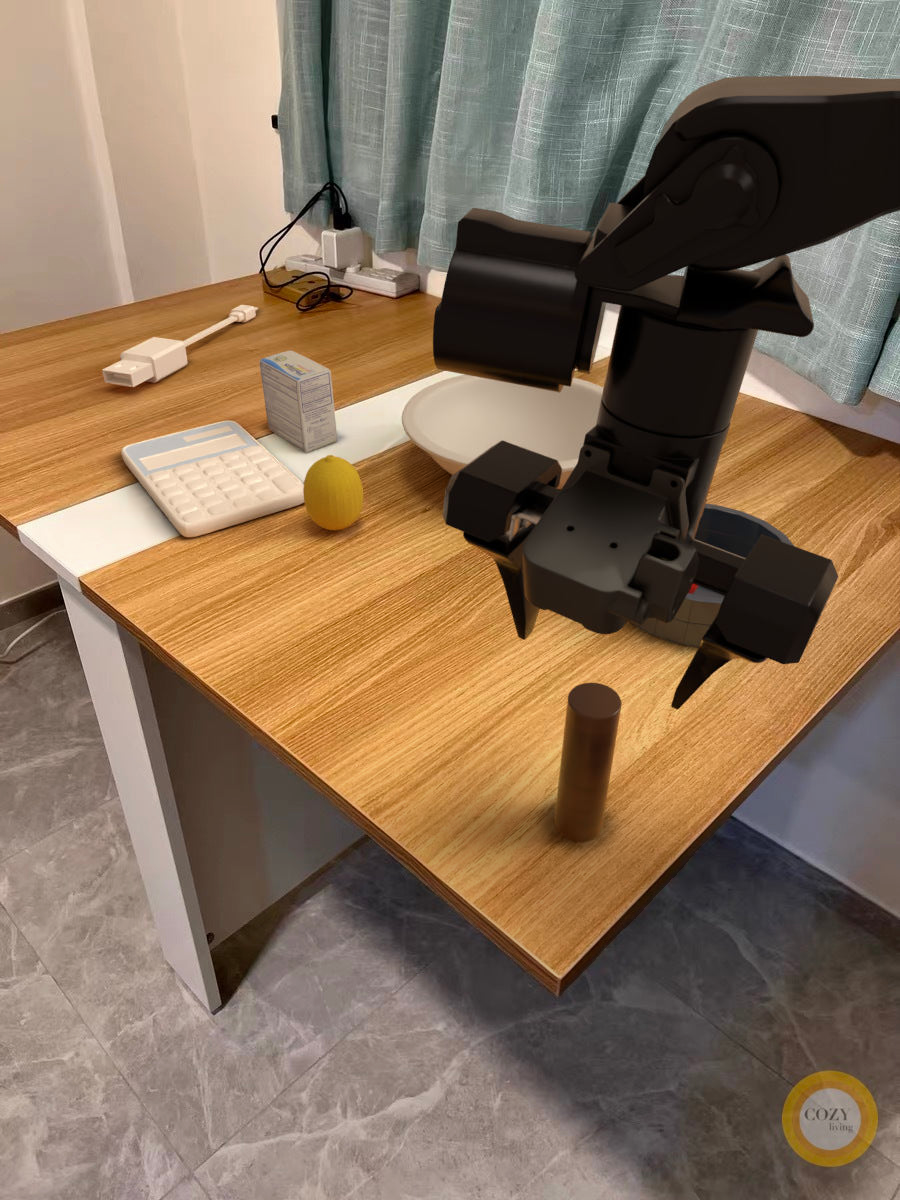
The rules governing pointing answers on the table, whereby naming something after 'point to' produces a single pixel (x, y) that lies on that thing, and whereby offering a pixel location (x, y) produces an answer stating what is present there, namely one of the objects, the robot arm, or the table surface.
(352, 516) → the lemon
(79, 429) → the table surface
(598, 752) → the brown cylinder
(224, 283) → the table surface
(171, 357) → the charging cable
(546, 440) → the soup bowl
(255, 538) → the table surface
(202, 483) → the calculator
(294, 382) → the medicine box
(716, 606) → the bowl
